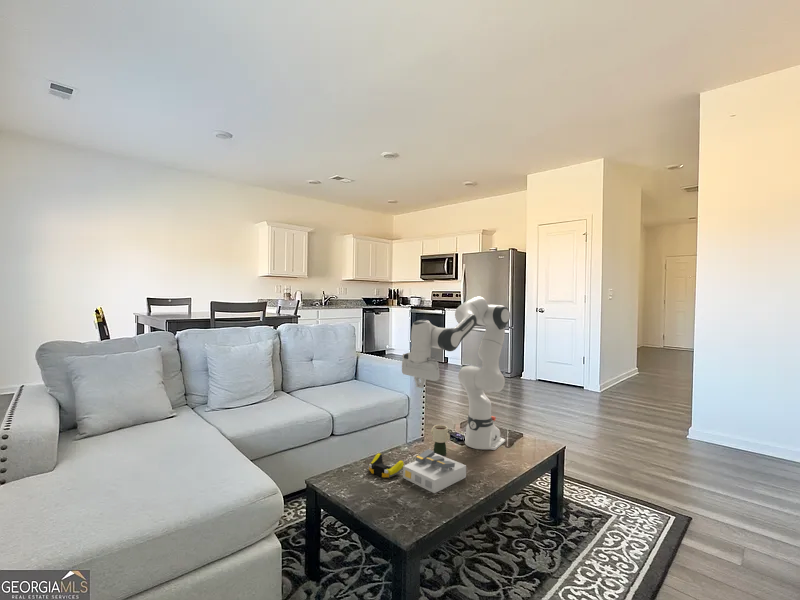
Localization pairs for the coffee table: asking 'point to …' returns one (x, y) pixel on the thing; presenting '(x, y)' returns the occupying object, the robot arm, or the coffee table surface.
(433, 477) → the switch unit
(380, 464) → the gaming controller
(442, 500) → the coffee table surface
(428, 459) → the block
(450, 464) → the block
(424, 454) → the block
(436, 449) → the character mug
